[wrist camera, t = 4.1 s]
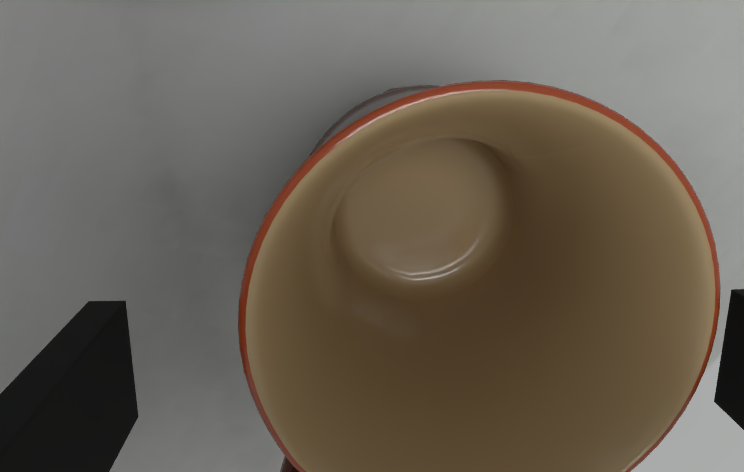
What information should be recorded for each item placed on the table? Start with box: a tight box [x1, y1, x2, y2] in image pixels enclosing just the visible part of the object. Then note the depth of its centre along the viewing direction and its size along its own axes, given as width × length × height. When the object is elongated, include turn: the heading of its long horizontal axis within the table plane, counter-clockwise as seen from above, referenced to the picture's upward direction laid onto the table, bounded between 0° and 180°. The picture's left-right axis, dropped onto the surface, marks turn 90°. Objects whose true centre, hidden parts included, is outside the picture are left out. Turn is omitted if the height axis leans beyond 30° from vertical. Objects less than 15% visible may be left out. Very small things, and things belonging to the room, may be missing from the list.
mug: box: [238, 80, 720, 472], centre depth 17 cm, size 12×9×10 cm
